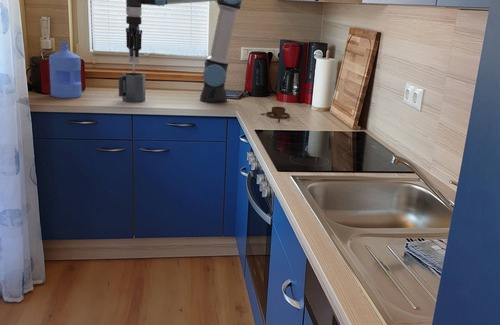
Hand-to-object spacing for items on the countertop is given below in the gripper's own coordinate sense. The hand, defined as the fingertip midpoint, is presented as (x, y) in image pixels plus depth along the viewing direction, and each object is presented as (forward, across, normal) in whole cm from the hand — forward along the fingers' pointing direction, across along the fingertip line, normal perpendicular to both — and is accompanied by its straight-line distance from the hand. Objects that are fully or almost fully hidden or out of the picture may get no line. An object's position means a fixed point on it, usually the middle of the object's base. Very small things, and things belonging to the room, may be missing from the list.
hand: (133, 62), depth 264 cm
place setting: (+21, +62, +45) cm, 79 cm away
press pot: (+20, 0, -1) cm, 20 cm away
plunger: (+13, 0, 0) cm, 13 cm away
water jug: (+20, -24, -27) cm, 41 cm away
